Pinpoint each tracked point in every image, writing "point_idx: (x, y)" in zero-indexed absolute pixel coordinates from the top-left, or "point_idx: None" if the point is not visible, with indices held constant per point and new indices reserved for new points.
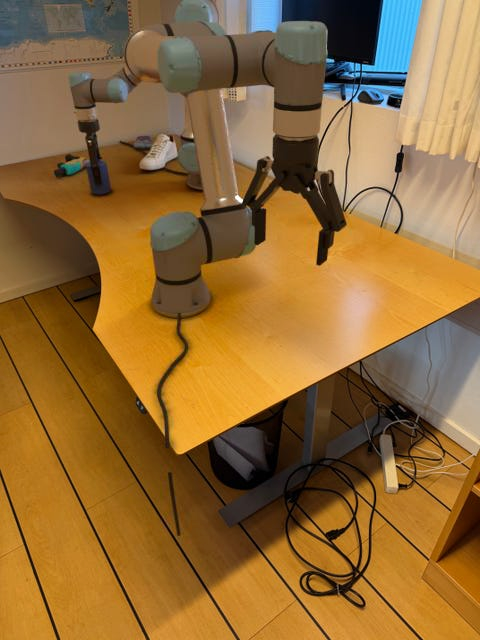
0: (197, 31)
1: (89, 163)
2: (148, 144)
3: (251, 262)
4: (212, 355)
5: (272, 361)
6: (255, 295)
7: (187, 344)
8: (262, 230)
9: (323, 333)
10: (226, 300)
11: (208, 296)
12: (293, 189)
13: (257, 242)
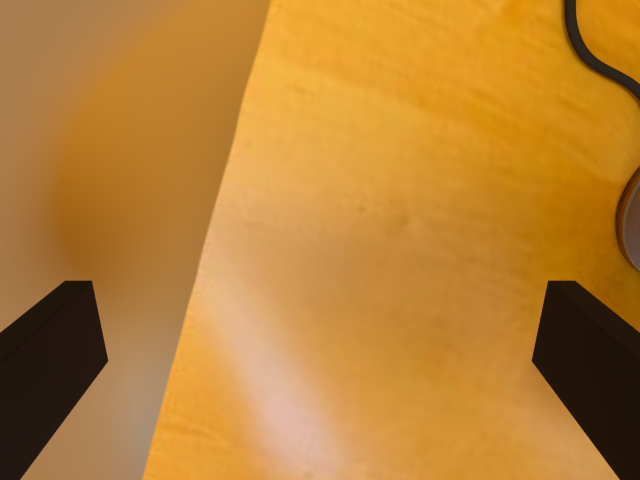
0: None
1: None
2: None
3: None
4: (494, 70)
5: (346, 147)
6: (522, 338)
7: (581, 54)
8: (587, 386)
9: (302, 304)
10: (582, 282)
11: (635, 252)
12: None
13: (560, 290)
